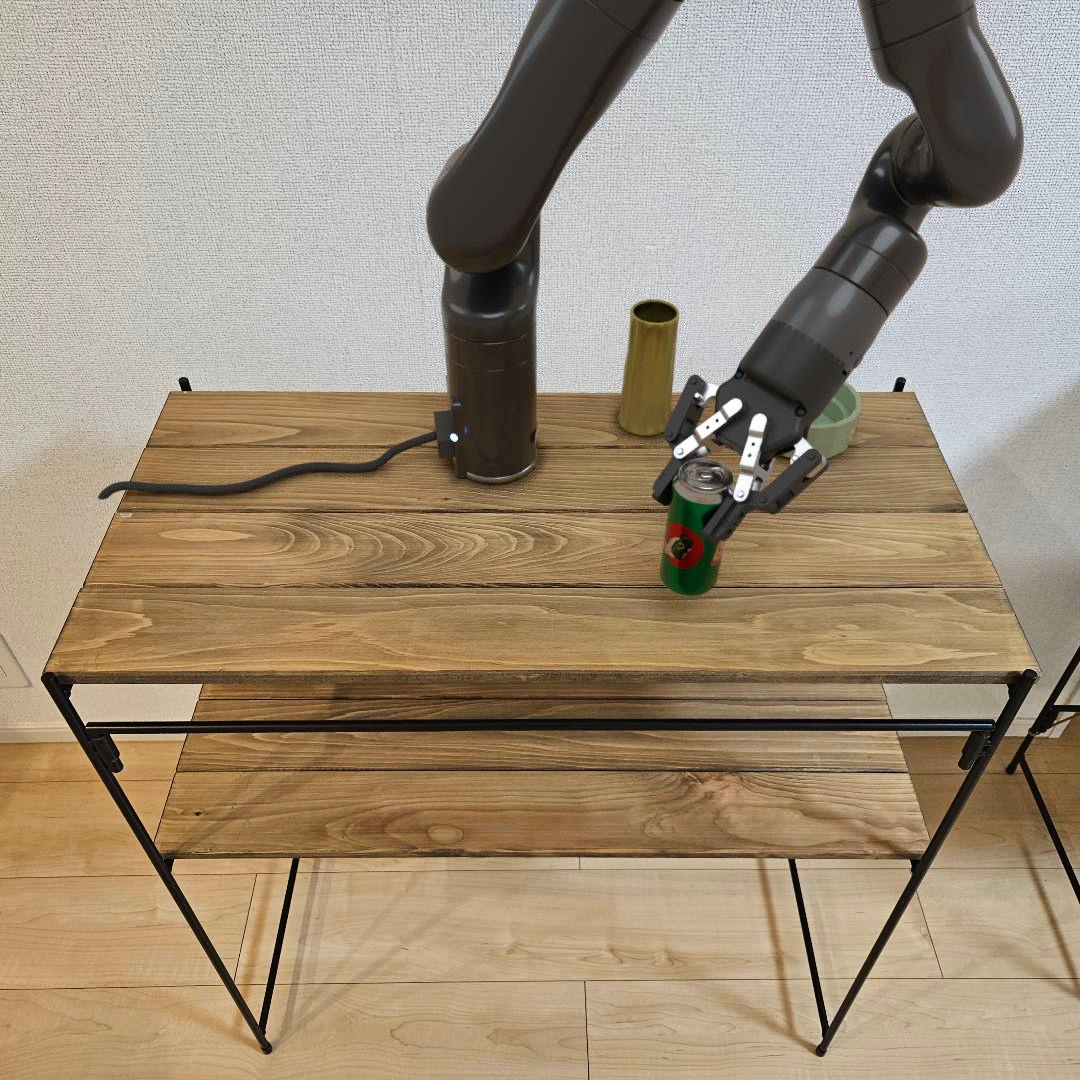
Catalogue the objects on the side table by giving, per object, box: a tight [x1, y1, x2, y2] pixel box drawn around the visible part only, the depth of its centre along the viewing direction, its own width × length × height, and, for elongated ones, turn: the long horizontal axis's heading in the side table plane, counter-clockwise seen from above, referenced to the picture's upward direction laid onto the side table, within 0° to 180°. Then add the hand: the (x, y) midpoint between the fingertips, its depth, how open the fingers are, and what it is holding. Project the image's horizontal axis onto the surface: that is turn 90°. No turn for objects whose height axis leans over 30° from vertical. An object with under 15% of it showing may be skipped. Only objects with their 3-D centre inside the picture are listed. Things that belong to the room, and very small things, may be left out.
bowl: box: [782, 380, 862, 460], centre depth 100 cm, size 12×12×5 cm
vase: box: [617, 298, 680, 437], centre depth 99 cm, size 6×6×14 cm
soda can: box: [659, 457, 736, 597], centre depth 74 cm, size 5×5×12 cm
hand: (683, 520), depth 72 cm, fingers closed on soda can, 5 cm apart
